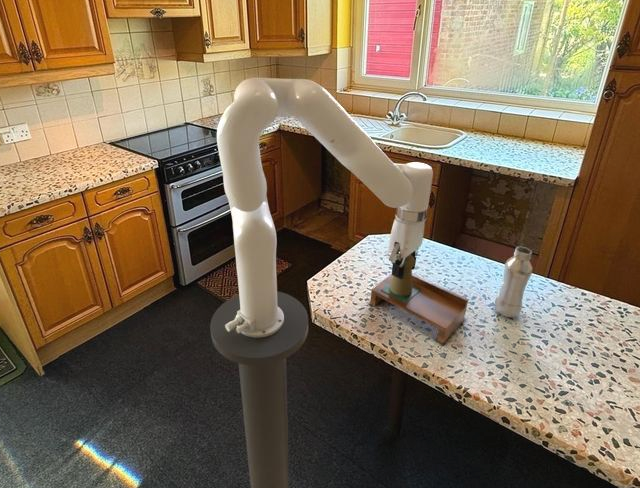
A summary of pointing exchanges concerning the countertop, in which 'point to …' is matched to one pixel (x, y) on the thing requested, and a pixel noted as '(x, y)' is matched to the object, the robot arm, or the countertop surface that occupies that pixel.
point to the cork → (405, 284)
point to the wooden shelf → (426, 304)
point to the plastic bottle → (514, 283)
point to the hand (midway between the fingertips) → (403, 271)
